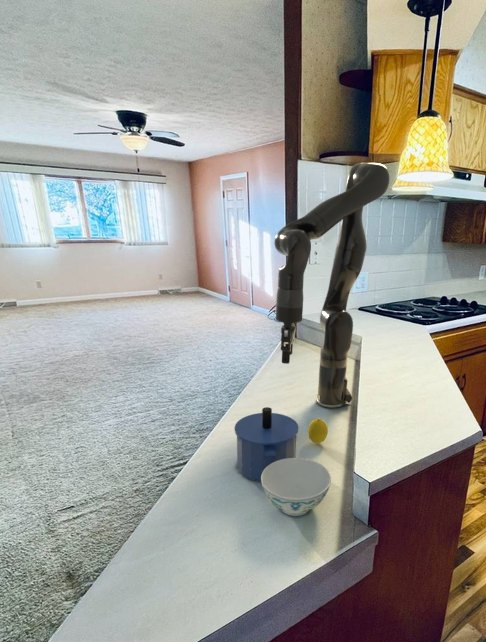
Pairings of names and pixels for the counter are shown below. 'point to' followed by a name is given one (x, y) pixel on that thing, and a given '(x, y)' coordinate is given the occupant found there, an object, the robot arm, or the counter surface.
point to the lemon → (317, 431)
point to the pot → (262, 456)
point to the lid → (266, 428)
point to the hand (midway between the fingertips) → (287, 358)
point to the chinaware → (295, 484)
